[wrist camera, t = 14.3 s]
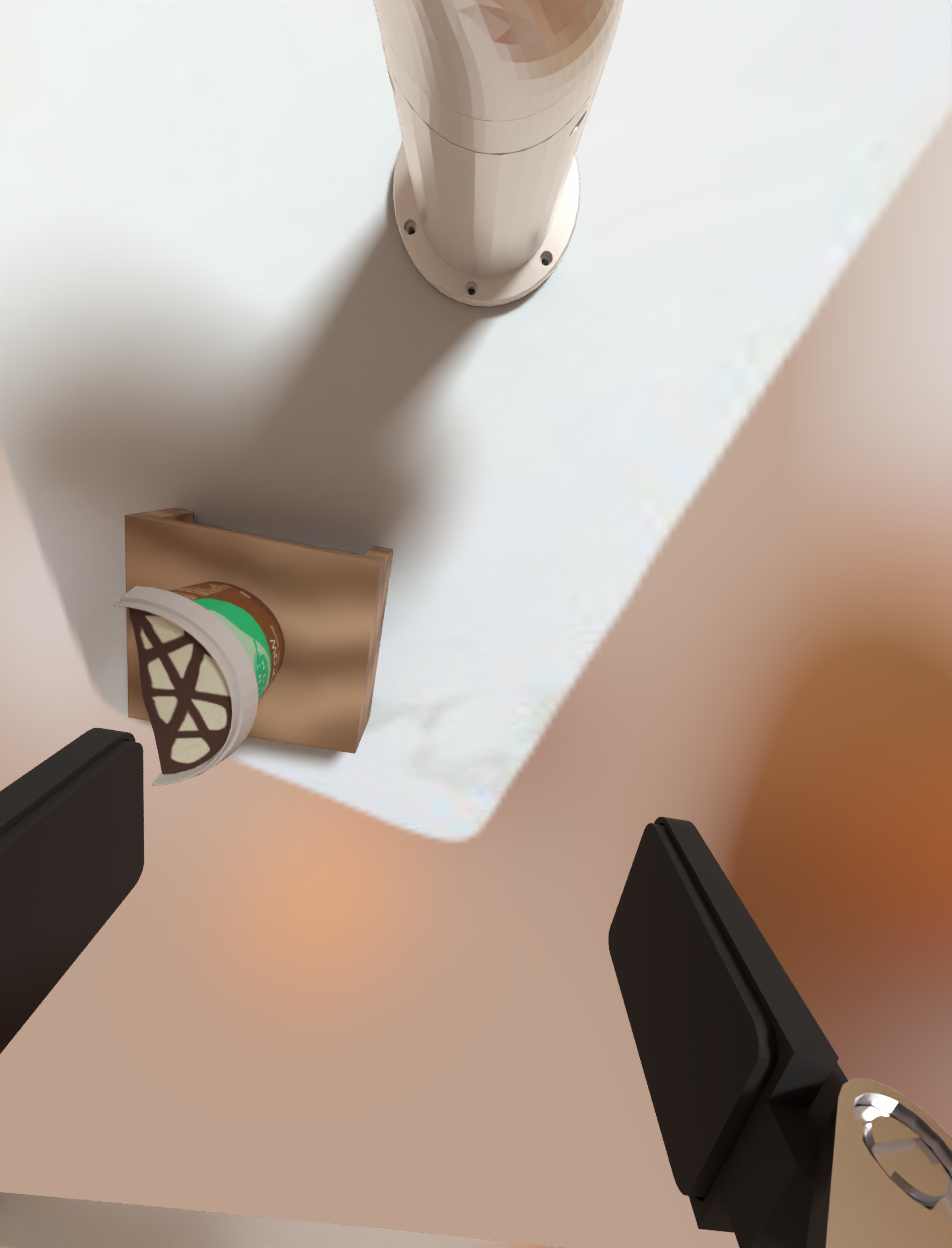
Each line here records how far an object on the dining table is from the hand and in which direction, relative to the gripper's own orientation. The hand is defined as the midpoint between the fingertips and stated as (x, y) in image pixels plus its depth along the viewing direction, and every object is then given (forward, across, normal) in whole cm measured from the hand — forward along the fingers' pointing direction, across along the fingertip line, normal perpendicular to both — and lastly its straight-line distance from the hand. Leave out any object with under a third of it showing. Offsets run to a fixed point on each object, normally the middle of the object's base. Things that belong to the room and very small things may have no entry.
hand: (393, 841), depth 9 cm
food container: (+28, +13, +9) cm, 33 cm away
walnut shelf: (+34, +14, +9) cm, 38 cm away
